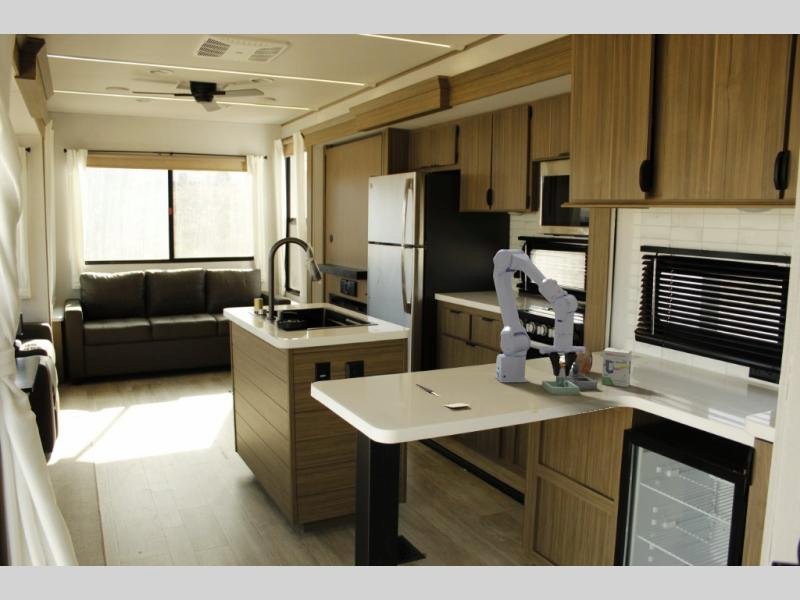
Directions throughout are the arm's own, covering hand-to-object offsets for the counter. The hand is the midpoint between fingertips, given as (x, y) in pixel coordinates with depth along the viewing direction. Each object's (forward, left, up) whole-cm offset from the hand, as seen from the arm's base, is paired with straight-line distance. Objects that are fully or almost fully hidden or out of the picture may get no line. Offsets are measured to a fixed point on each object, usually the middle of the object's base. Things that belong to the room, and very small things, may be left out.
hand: (561, 375), depth 218 cm
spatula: (-41, -5, -6) cm, 42 cm away
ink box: (+22, +7, -5) cm, 24 cm away
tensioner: (+9, +7, -5) cm, 12 cm away
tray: (0, 0, -5) cm, 5 cm away
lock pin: (0, 0, -3) cm, 3 cm away
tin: (+16, +22, -5) cm, 28 cm away
